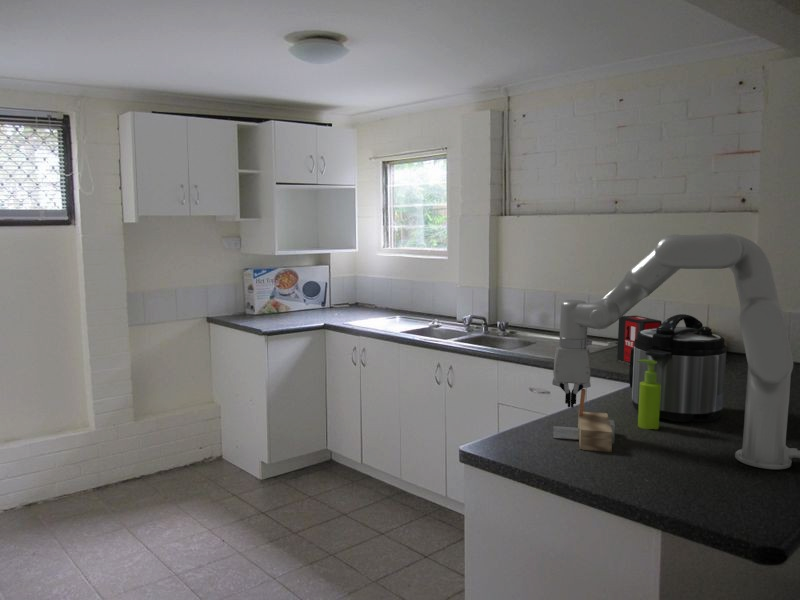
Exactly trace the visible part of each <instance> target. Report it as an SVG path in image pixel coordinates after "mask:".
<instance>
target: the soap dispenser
mask: <svg viewBox="0 0 800 600" xmlns="http://www.w3.org/2000/svg"><path fill="white" fill-rule="evenodd" d="M637 362H645V363H648V370H647V371H645V379H644V382H640V389H639V410H638V411H637V412H638V413H637V427H639V428H640V429H644V430H648V429H655V430H658V429H659V428H660V418H659V414H660V395H661V384H660V383H657V372H655V371H654V364H657V361H653V360H647V359H643V360H638V361H637Z"/></svg>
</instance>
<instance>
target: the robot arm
mask: <svg viewBox="0 0 800 600" xmlns="http://www.w3.org/2000/svg"><path fill="white" fill-rule="evenodd" d="M769 261H770V260H769V258H768V257H767V255H766V254H765V252H764V251H763V249H762V248H761V247H760V246H759V245H758V244H757V243H755V242H754V241H753V240H751V239H749V238H747V237H745V236H741V235H738V234H735V233H727V232H722V233H716V234H715V233H714V234H713V233H712V234H709V233H708V234H679V233H675V234H669V235H666V236H664V237H662V238H661V239H660V240H659V241H658V242H657V244H656V246H655V247H653V248H652V249H651V250H650V251H649V252H648V253H647V254H646V255H645V256H643V257H642V258H641V259H640V260H639V261H638V262H636V263H635V264H634V265H633V266H632V267H630V268H629V270H628V271H627V272H626V274H625V275H624V277H623V279H622V280H621V281H620V282H619V283H618V284H617V285H616V286H615V287H614V288H613V289H612V290H610V291H609V292H608V293H607V294H606V295H605V296H604V297H602V298H601V299H600V300H598V301H596V302H588V303H587V302H586V301H584V300H580V299H566V300H563V301H562V302H561V304H560V315H559V316H560V318H559V319H560V320H559V322H560V323H559V346H556V348H555V354H554V359H553V372H552V373H553V379H552V382H551V384H552V386H554V387H555V386H556V387H559V388H561V390H562V391H564V393H565V399H564V400H565V401H564V404H567V408H570V407H571V409H572V408H574V405H577V394H579V393H578V392H581V389H587V388H591V386H592V385H591V381H590V380H591V354H590V349H589V348H588V346H592V345H593V340H592V339H588V328H589V329H592V330H593V329H594V330H599V331H600V330H605V329H607V328H609V327H610V326H612V325H613V324H615V323H616V322H617V321H619V319H620V318H621V317H622V316H625V314H627V313H628V312H629V311H630V310H631V309H632V308H634V307H635V306H636V305H638V303H640V302H641V301H642V300H644V299H645V298H647V297H649V296H650V295H651V294H652V293H654V292H655V291H656V290H657V289H658V288H660V286H663V284H664V283H665V282H666V281H668V280H669V279H670V278H671V277H672V276H674V275H675V274H676V273H678V271H680V270H681V269H684V270H691V269H692V270H698V269H699V270H700V269H701V270H703V269H704V270H706V269H707V270H708V269H709V270H710V269H711V270H716V269H717V270H720V269H721V270H722V269H730V271H731V272H732V273H733V277H734V282H735V286H736V290H737V294H738V295H737V296H738V302H739V307H740V312H739V317H738V320H739V327H740V332H741V338H742V341H743V347H744V352H745V357H746V361H747V362H746V363H747V373H746V375H747V376H746V390H745V391H746V393H745V405H744V416H743V417H744V421H743V436H742V447H741V449H738V450H737V451H735V453H734V457H735V459H736V460H737V461H739V462H741V463H743V464H744V465H747V466H751V467H755V468H759V469H766V470H785V469H788V468H790V467H792V459H794V458H795V459H800V450H798V448H794V447H791V448H790V447H788V446H787V445H786V442H787V433H788V432H787V430H788V417H789V404H790V393H791V376H792V372H793V369H794V359H793V358H794V357H793V354H792V350H791V344H790V338H789V334H788V333H789V332H788V329H787V324H786V319H785V315H784V311H783V308H782V306H781V304H780V301H779V296H778V293H777V291H778V290H777V287H776V283H775V279H774V275H773V274H774V273H773V271H772V268H771V263H770V262H769ZM569 384H573V389H572V390H571V389H570V386H569Z"/></svg>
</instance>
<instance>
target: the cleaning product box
mask: <svg viewBox="0 0 800 600" xmlns="http://www.w3.org/2000/svg"><path fill="white" fill-rule="evenodd" d="M662 323H663V322H662V320H658V319H655V318H651V317H650V318H649V317H645V316H642V315H641V316H640V315H623V316H622V317H621V318H620V319H618V331H617V332H618V333H617V355H616V357H617V358H616V360H617V359H618V360H621V361H625V362H628V363H630V353H631V349H632V348H634V342H635V339H637V332H638V331H641V330H648V329H657V328H658V327H659V326H660V325H661V324H662Z"/></svg>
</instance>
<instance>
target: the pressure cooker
mask: <svg viewBox="0 0 800 600" xmlns="http://www.w3.org/2000/svg"><path fill="white" fill-rule="evenodd" d="M681 321H683V323H684V325H685V327H684V326H683V327H682V326H681V327H680V326H679V327H678V324H679V323H680V322H681ZM643 359H647V360H653V361H657V364H654V371H655V372H657V383H660V384H661V395H660V414H659V419H664V420H669V421H674V422H681V423H689V422H692V421H694V422H695V421H696V422H711V421H715V420H717V419H718V418H720V417H721V413H722V411H723V409H724V399H725V398H724V397H725V396H724V395H725V379H726V362H727V346H726V345H725V337H724V336H723V335H719V334H714V333H713V331H712V328H710V327H709V326H704V325H703V322H701V321H700V320H699V319H698V318H696V317H694V316H693V315H691V314H690V315H689V314H685V313H684V314H683V313H682V314H675V315H672V316H670V317H669V318H667V319H665V320H664V321H663V322H662V324H661V325H660V326H659V327H658V328H657V329H648V330H641V331H638V332H637V339H635V342H634V348H632V349H631V353H630V365H628V366H629V367H628V369H629V370H628V383H629V388H632V389H631V403H632V405H633V407H634V409H635V410H636V412H638V410H639V389H640V382H644V379H645V371H647V370H648V363H645V362H637V361H638V360H643Z"/></svg>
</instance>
